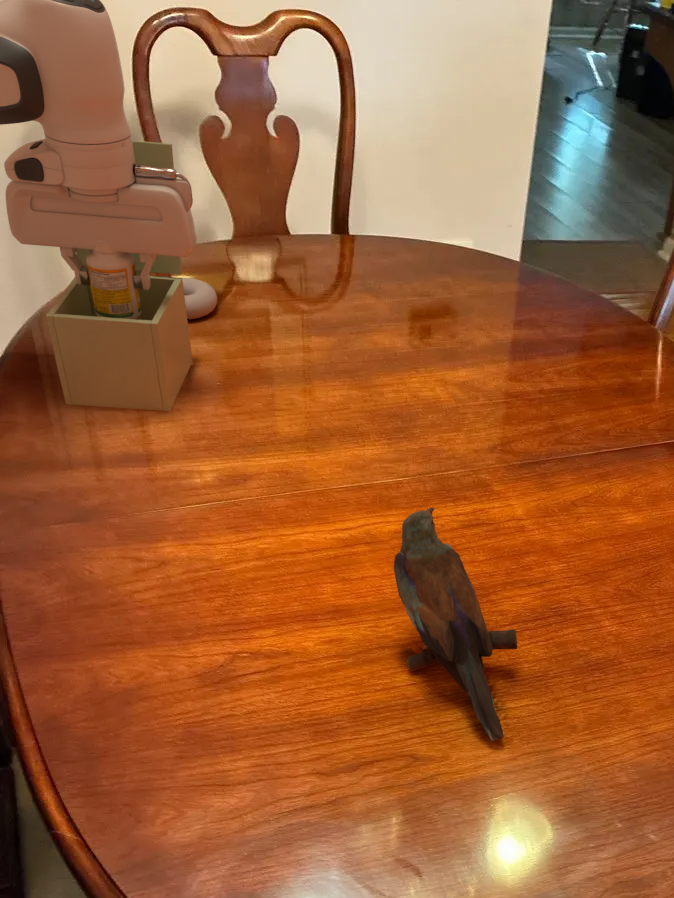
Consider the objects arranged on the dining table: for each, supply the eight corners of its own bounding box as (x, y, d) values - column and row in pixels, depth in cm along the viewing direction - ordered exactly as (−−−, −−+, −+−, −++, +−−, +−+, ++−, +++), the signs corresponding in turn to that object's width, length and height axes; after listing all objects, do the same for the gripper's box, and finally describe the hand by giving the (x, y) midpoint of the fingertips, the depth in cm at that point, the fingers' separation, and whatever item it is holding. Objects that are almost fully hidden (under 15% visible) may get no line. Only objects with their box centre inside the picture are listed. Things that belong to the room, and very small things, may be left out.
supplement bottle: (122, 328, 114) (108, 246, 108) (86, 317, 115) (70, 236, 109) (151, 312, 118) (140, 233, 111) (116, 302, 119) (102, 222, 113)
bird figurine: (558, 726, 85) (525, 503, 80) (456, 756, 82) (415, 525, 77) (498, 694, 97) (466, 498, 92) (407, 719, 94) (369, 518, 89)
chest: (171, 422, 119) (157, 323, 110) (68, 415, 118) (45, 315, 110) (194, 371, 129) (182, 277, 120) (98, 365, 128) (79, 269, 120)
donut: (138, 319, 140) (204, 327, 139) (134, 295, 137) (201, 304, 136) (165, 292, 147) (228, 300, 146) (162, 270, 145) (225, 278, 144)
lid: (170, 144, 112) (172, 143, 113) (60, 135, 111) (62, 134, 112) (181, 274, 120) (182, 273, 120) (78, 266, 119) (80, 265, 120)
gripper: (195, 161, 108) (207, 282, 117) (8, 144, 107) (36, 268, 116) (183, 179, 103) (197, 303, 113) (-13, 161, 102) (18, 289, 111)
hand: (114, 285), depth 114 cm, fingers closed on supplement bottle, 5 cm apart
